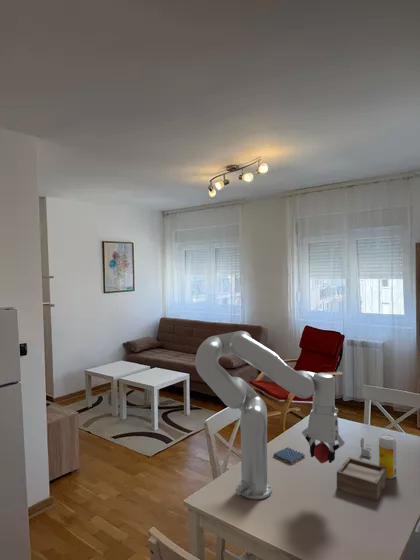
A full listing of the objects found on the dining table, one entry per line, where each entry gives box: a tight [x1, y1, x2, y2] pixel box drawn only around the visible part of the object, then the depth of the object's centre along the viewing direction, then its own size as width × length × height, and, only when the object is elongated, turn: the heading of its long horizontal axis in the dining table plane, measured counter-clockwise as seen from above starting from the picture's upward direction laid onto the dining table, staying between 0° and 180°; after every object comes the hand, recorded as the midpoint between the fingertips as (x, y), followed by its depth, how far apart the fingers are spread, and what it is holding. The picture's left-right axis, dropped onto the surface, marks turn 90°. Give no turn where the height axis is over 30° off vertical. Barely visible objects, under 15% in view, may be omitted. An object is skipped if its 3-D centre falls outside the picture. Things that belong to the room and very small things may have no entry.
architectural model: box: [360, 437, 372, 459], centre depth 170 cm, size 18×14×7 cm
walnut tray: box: [336, 457, 387, 502], centre depth 142 cm, size 14×14×6 cm
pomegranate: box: [314, 441, 330, 464], centre depth 136 cm, size 6×6×8 cm
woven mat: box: [272, 446, 306, 466], centre depth 165 cm, size 10×11×2 cm
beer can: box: [378, 434, 397, 480], centre depth 150 cm, size 6×6×15 cm
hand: (322, 458), depth 136 cm, fingers closed on pomegranate, 5 cm apart
